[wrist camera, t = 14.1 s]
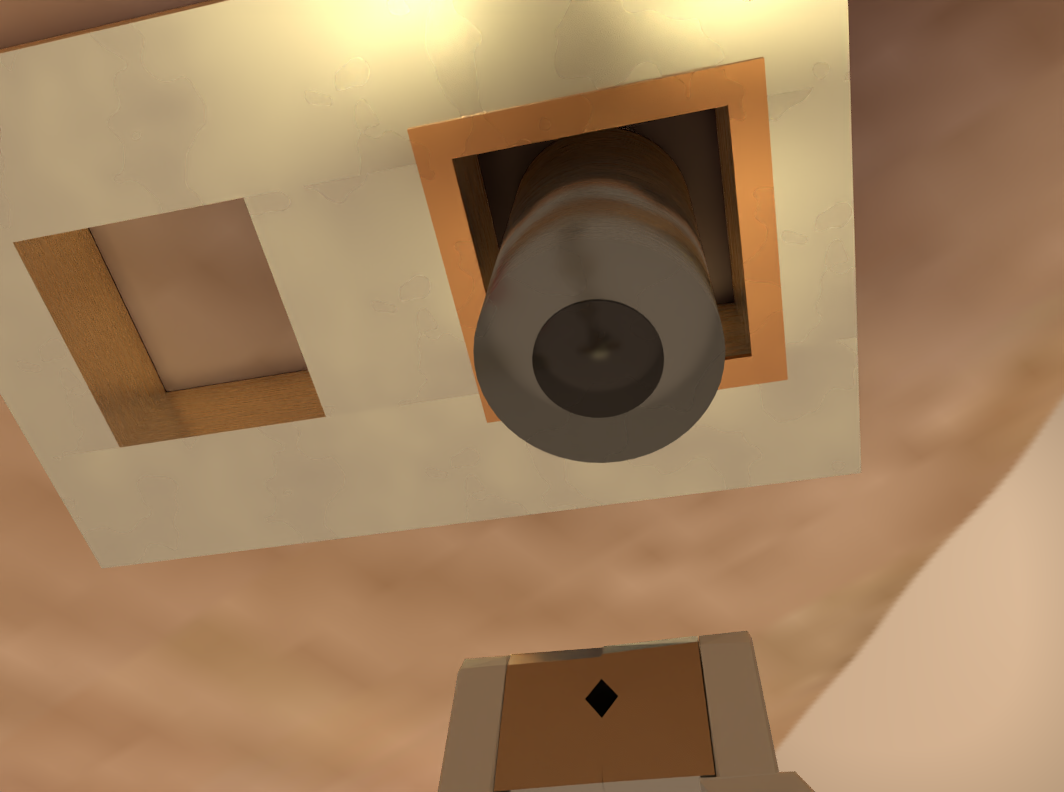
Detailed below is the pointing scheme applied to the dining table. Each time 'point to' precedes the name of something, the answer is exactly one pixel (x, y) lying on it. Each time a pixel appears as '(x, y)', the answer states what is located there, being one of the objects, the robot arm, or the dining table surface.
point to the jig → (402, 254)
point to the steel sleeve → (600, 304)
